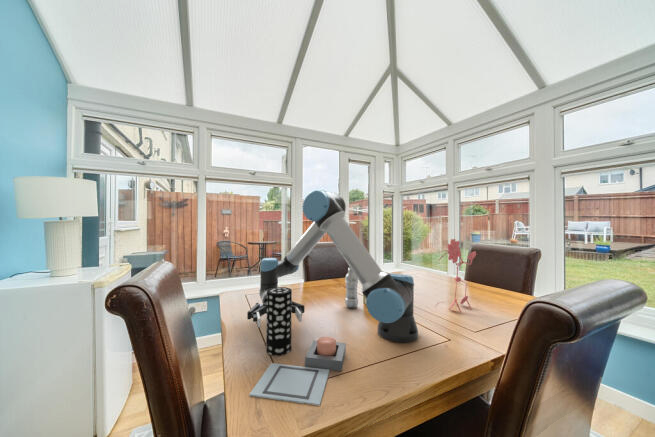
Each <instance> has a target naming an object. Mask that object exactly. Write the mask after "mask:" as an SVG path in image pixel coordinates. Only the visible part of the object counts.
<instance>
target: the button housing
mask: <svg viewBox="0 0 655 437" xmlns="http://www.w3.org/2000/svg"><path fill="white" fill-rule="evenodd" d="M317 340H318V339H317ZM317 340H316V339H313V341H312V342H311V344H310V346H309V349H308V351H307V352H306V355H305V357H304V367H310V368H319V369H328V370H330V371H334V372H342V371H343V367H344V362H345V361H344V360H345V357H346V351H347V350H346V345H347V344H346V342H340V341H336V357H333V356H324V355H317Z"/></svg>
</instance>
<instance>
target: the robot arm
mask: <svg viewBox="0 0 655 437" xmlns="http://www.w3.org/2000/svg"><path fill="white" fill-rule="evenodd" d="M346 209H347V206H346V202H345V200H344V197H342V196H341V195H340V194H338V193H335V192H334V193H333V192H328V191H325V190H322V189H318V190H313V191H312V190H311V191H310V192H309V193H307V195H305V197H304V199H303V202H302V212H303V215H304V217H305V218H306V219H307V220H309V221H310V222H312V223H311V224H310V226H309V227H308V228H307V229H306V231H304V233H303V234H302V235H301V237H300V238H299V239H298V240H297V241H296V243H295V244H294V245H293V247H291V249H290V250H289V251H288V253H287V254H286V255H285V256H284V257H283V259H279V260H278V258H276V257H264V258H262V259H261V260H260V267H259V269H260V284H259V287H260V288H259V297H260V299H261V303H262V304H261V303H259V302H256V303H255V305H254V306H252V307H251V308H250V309H249V310H248V311H247V312H246V316H247V317H246V318H247V320H252V322H254V323H255V322H256V325H257V328H261V317H262V316H264V315H265V314H266V315H267V290H268V289H271V288H276V287H278V283H279V281H278V280H279V278H281V277H285V276H287V275H292V274H294V273H296V272H297V271H299V267H300V264H301V263H302V262H303V260H304V259H305V258H306V257H307V256H308V255H309V253H310V252H311V251H312V250H313V249H314V247H315V246H316V245H317V244H318V243H319V242H320V241H321V240H322V238H323V237H325V235H326V234H327V235H328V237H329V238H330V240H331V241H332V243H333V244H334V246H335V247H336V249H337V250H338V252H339V253H340V255H341V256H342V257H343V259H344V260H345V262H346V263H347V265H348V267H350V268H351V269H352V271H353V272H354V274H355V275H356V277H357V278H358V282H360V284H361V286H362V288H361V293H362V294H363V296H364V298H365V299H366V308H367V309H366V310H367V311H368V313H369V315H371V317H372V318H373V319H374V320H376V321H377V322H378V324H377V334H378V335H379V336H380V337H381V338H383V339H385V340H388V341H391V342H395V343H403V344H404V343H412V342H415V341H416V340H417V339H418V338H419V329H418V327H417V322H416V320H415V317H414V298H415V297H414V295H415V294H414V288H415V287H414V286H415V283H414V277H413V276H411V275H408V274H400V273H390V272H386V271H383V270H382V269H381V268H380V266H379V264H378V263H377V262H376V260H375V259H374V258H373V257H372V254H370V252H369V251H368V249H367V248H366V246H365V245H364V244H363V242H362V241H361V240H360V238H359V237H358V236H357V234H356V233H355V231H354V230H353V229H352V227H351V226H350V224H349V223H348V222H347V220H346V218H345V216H346ZM304 313H305V305H303V304H301V303H298V302H295V301H293V300H292V313H291V314H295V317H296V318H297V320H298V322H300V323H302V322H303V318H302V317H303V314H304Z"/></svg>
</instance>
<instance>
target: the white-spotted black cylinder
mask: <svg viewBox="0 0 655 437" xmlns="http://www.w3.org/2000/svg"><path fill="white" fill-rule="evenodd" d="M292 292H293V291H292V289H291V288H290V287H286V286H285V287H283V286H279V287H276V288H271V289H268V290H267V314H266V338H265V340H266V343H265V344H266V345H265V346H266V348H265V349H266V350H265V351H266V353H267V354H268V355H270V356H284V355H287V354H289V353H290V352H291V350H292V314H293V313H292V301H293V297H292V296H293V293H292Z"/></svg>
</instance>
